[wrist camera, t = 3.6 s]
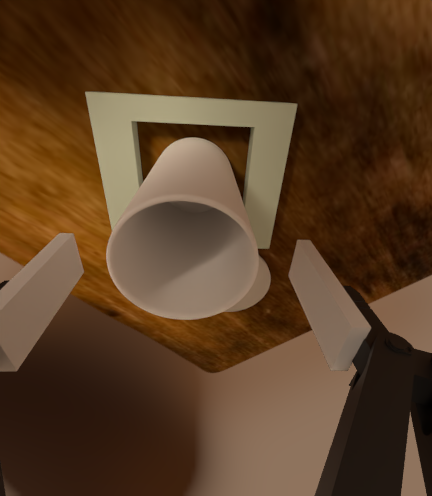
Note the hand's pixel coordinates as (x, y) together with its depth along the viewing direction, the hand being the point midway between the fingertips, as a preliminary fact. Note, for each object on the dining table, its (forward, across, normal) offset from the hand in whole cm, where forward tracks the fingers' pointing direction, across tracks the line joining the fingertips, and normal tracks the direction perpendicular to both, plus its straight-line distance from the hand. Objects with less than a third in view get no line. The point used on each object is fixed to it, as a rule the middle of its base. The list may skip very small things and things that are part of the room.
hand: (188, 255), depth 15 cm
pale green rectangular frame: (+14, 0, 0) cm, 14 cm away
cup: (+14, 0, 0) cm, 15 cm away
